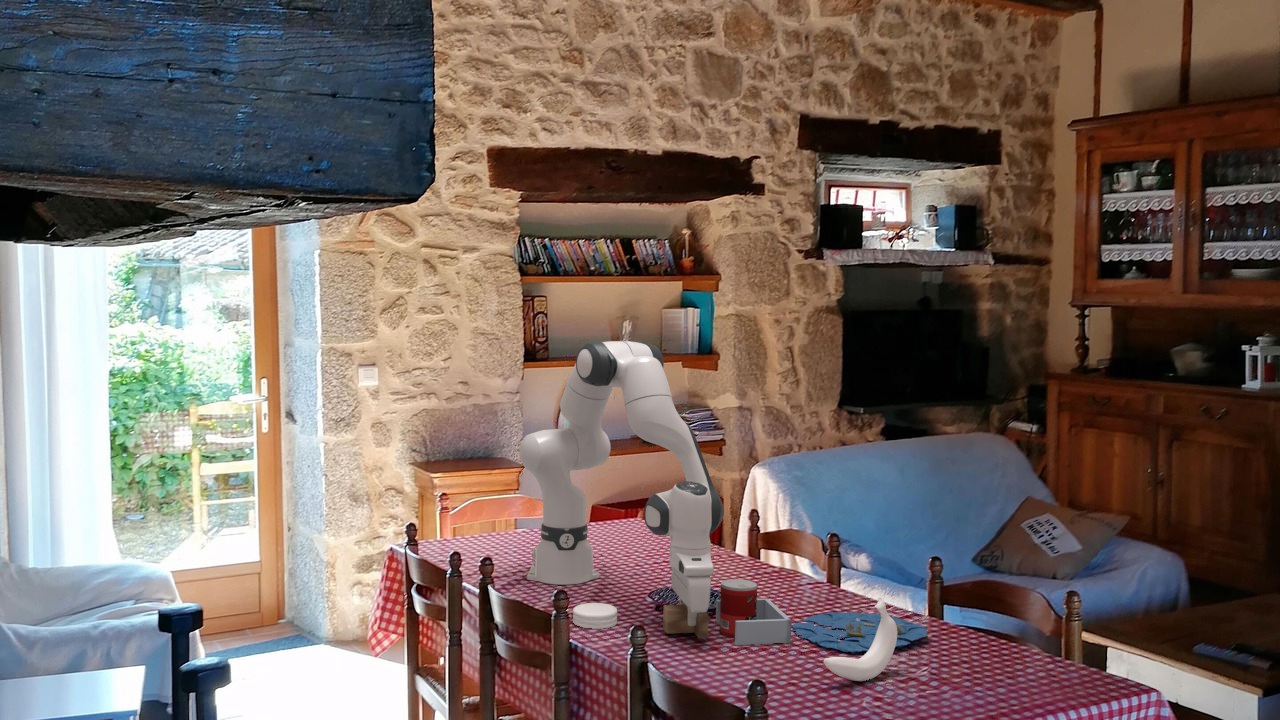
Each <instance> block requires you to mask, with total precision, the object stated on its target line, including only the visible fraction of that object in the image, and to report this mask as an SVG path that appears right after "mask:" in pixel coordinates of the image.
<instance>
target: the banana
mask: <svg viewBox="0 0 1280 720" xmlns="http://www.w3.org/2000/svg"><path fill="white" fill-rule="evenodd" d="M886 606H887V605H886V602H885V600H884V599H883V597H882V596H878V597H877V603H876V604H875V605H874V608H875V609H877V610H878V612H879V614H880V615H881V621H880V624H879V627H878V630H877V633H876V636H875V639H874V641H873V643H872V645H871V647H870V649H869V650H867V651H866V653H864V655H862V656H861V657H859V658H852V657H844V656H833V657H826V658H824V659H823V664H824V665H825V667H826V668H827V669H828V670H830V672H832V673H833V674H835V675H836V676H839V677H841V678H844V679H847V680H851V681H854V682H865V681H866V680H867V681H870V680H872V679H874V678H875V677H877V676H879V675H880V674H881V673H882V672H883V671H884V670H885V668H886V667H887V665H888V664H889V662H890V660H891V658H892V656H893V654H894V651H895V648H896V647H895V645H896V641H897V639H898V638H897V626H896V623H895V621H894V620H893V619H892V618H891V617H892V616H891V615H889V613H888V612H887V608H886ZM869 679H870V680H869Z"/></svg>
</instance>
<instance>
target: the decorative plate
mask: <svg viewBox="0 0 1280 720" xmlns="http://www.w3.org/2000/svg"><path fill="white" fill-rule="evenodd" d="M890 617H891V618H892V619H893V620H894V621H895V623H896V626H897V641H896V645H895V648H903V647H907V645H908V644H909V645H911V642H913V641H917V640H919V639H921V638H922V639H923V638H925V637H927V636H928V635H929V634H928V633H929V632H928V628H926V626H922V625H920V624H917V623H915V622H911V621H907V619H906V620H905V619H903V618H898V617H896V616H890ZM802 620H804V621H803V622H809V623H795V622H794V624H792V626H791V629H793V630H792V632H793V631H796V630H800V631H796V632H795V634H796V636H798V635H802V637H801V636H800V637H801V638H802V639H803V638H805V639H804V640H806V639H808V640H810V641H811V643H817V644H818V645H819V646H820V647H821V646H822V647H825V648H829V649H830V648H832V649H836V650H839V651H841V652H845V653H848V652H850V653H851V654H854V652H860V653H861V652H862V651H866V652H867V651H868V650H869V649H870V647H871V645H872V643H873V641H874V639H875V636H876V633H877V630H878V627H879V624H880V621H881V615H880V613H878V612H877V613H868V612H864V613H862V612H854V611H851V612H849V611H848V612H844V611H841V612H839V611H835V612H829V611H828V612H823V613H820V614H815V615H812V616H807V617H806V618H803V619H802ZM814 623H815V624H814ZM814 625H816V626H814ZM820 625H824V626H820ZM817 626H818V627H817ZM830 626H832V627H830ZM823 627H827V628H823ZM828 628H831V629H828ZM835 628H836V629H838V628H842V629H838V630H832V629H835ZM842 630H843V631H842ZM803 634H805V635H803ZM838 634H839V635H838ZM831 635H832V636H833V637H831ZM840 635H841V637H842V636H843V637H842V638H843V639H844V638H845V640H843V641H840V642H839V641H838V640H840V639H842V638H841V637H840ZM837 638H838V639H837ZM910 641H911V642H910Z"/></svg>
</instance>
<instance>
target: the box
mask: <svg viewBox="0 0 1280 720" xmlns="http://www.w3.org/2000/svg"><path fill="white" fill-rule="evenodd" d="M715 608H716V609H715V622H716V623H717V624H720V599H716V605H715ZM767 643H768V644H767ZM771 643H772V644H771ZM773 643H788V644H792V619H791V618H790V617H789V616H787V615H786V614H785V613H784V612H783V611H782V610H781V609H780V608H779V607H778V606H777V605H776V604H775V603H773V602H772V601H771V600H770V599H769V598H757V616H756V620H740V621H735V638H734V645H735V646H752V645H751V644H762V645H774V644H773Z"/></svg>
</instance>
